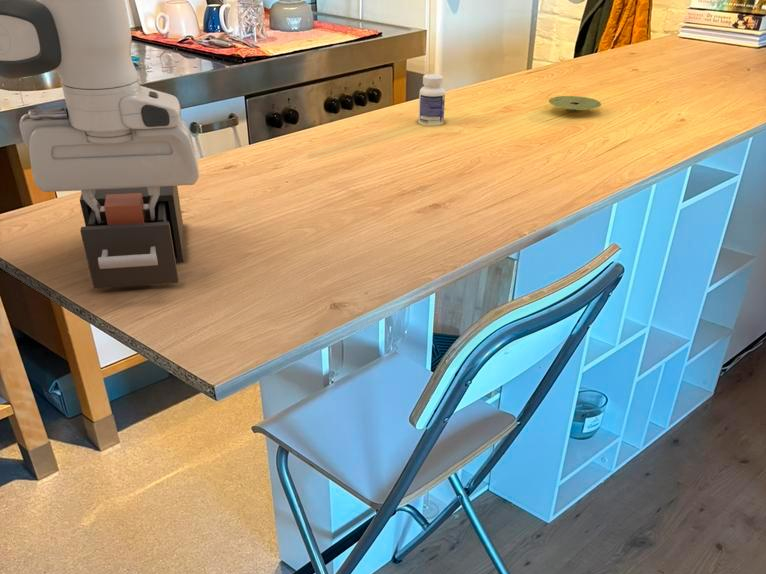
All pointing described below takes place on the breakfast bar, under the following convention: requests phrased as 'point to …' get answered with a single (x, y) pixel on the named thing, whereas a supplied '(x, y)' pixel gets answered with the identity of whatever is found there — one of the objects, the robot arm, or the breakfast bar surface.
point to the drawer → (131, 251)
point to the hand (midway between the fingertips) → (127, 220)
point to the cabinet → (166, 195)
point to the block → (124, 209)
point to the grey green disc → (574, 103)
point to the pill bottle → (431, 101)
